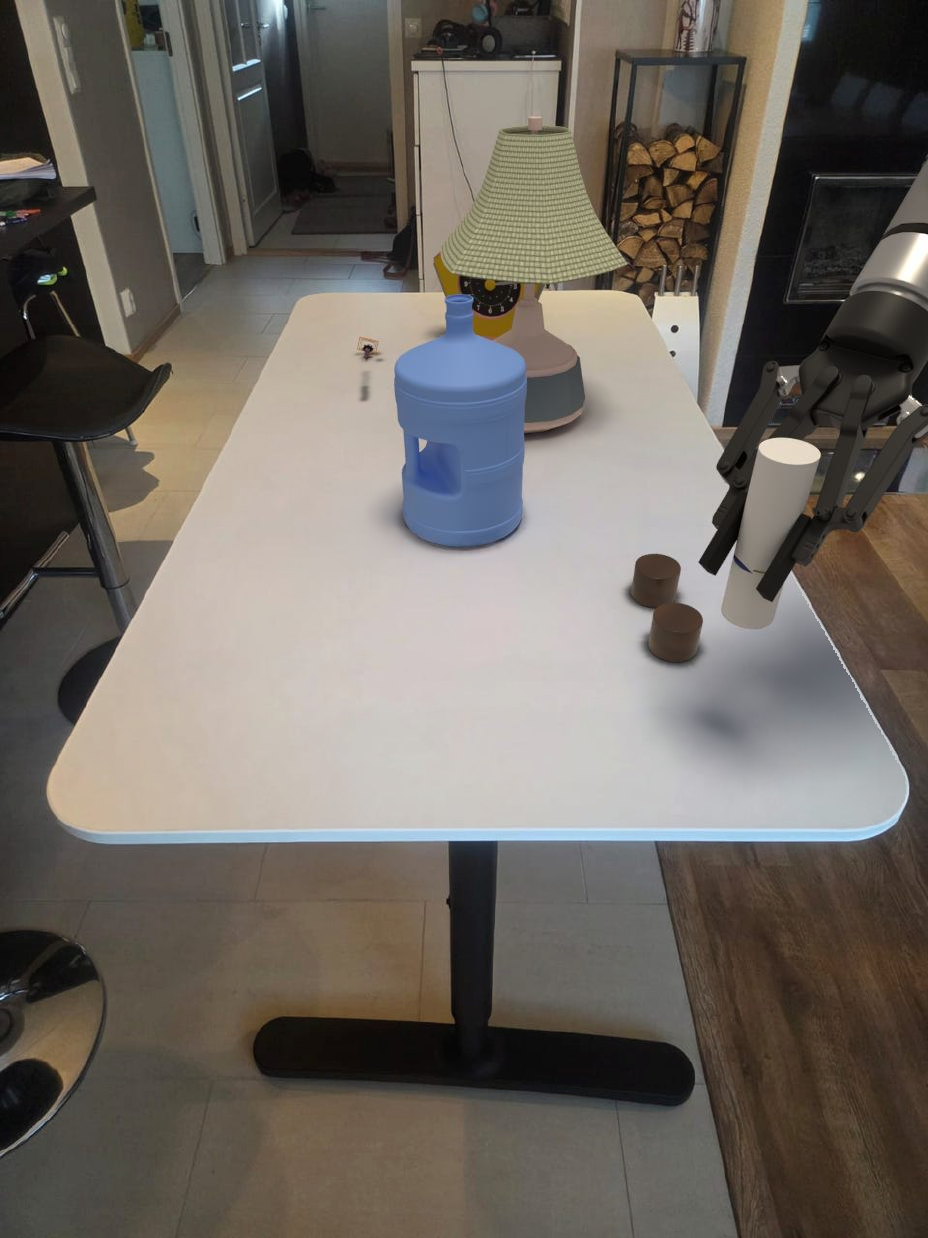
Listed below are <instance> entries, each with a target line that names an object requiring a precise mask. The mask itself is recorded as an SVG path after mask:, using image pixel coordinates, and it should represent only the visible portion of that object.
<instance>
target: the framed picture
mask: <svg viewBox="0 0 928 1238" xmlns="http://www.w3.org/2000/svg"><path fill="white" fill-rule="evenodd" d="M364 341H365V342H369V344H365V343H364V345H363V344H362V343H363V342H364ZM370 343H372V344H370ZM378 345H379V340H375V339H372V338H367V337H363V336H359V338H358V344H357V347H356V349H357V351H361V352H364V354H363V356H364V357H365V358H369V356H370V354H374V355H376V354H377V352H378V351H377V350H378ZM362 346H363V347H362Z"/></svg>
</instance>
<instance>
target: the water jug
mask: <svg viewBox="0 0 928 1238" xmlns="http://www.w3.org/2000/svg"><path fill="white" fill-rule="evenodd" d="M444 303H445V308H446V310H445V313H444V319H445V332H444V334H443V335H441V336H438V337H436V338H434V339H431V340H429V341H426V342H424V343H421V344H419V345H417V346H415V347H412V348H411V349H408V350H407V351H405V352H404V353H402V354H401V355H400V356H399V357H398V358H397V360H396V361H395V364H394V371H393V372H394V379H393V389H394V398H395V403H396V413H397V422H398V424H399V427H400V428H401V429H402V431H403V445H404V459H405V460H404V462H405V463H404V464H403V466H402V469H401V485H402V497H403V498H402V513H403V514H402V515H403V519H404V522H405V525H406V526H407V527H408V529H409V530H410V531H411V532H412V533H414V534H415V535H416V536H418V537H419V538H421V539H423V540H425V541H427V542H430V543H433V544H435V545H441V546H446V547H452V548H453V547H457V548H466V547H467V548H469V547H470V548H471V547H477V546H483V545H487V544H491V543H494V542H497V541H499V540H501V539H503V538H505V537H507V536H509V535H510V534H511V533H512V532H513V531H515V529H516V528H517V527H518V526H519V524H520V522H521V520H522V518H523V511H524V508H523V506H524V499H523V478H524V477H523V476H524V475H523V473H524V463H525V454H526V453H525V451H526V450H525V448H526V446H525V444H526V443H525V433H524V418H525V400H526V394H527V376H526V363H525V360H524V359H523V357H522V356H521V355H520V354H519V353H518V352H516V351H515V350H513V349H511V348H509V347H507V346H504V345H502V344H499V343H496V342H494V341H491V340H489V339H486V338H483V337H481V336H478V335H476V334H475V333H474V331H473V318H474V314H473V312H472V303H473V297H472V296H469V295H464V294H456V295H450V296H447V297H444ZM420 440H423V441H426V443H425V446H424V448H423V449H421V450H420Z"/></svg>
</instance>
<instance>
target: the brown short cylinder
mask: <svg viewBox="0 0 928 1238" xmlns="http://www.w3.org/2000/svg"><path fill="white" fill-rule="evenodd" d="M681 571H682V566H681V564H680V563H679V561H678V560H677V559H675V558H673V557H671V556H670V555H666V554H662V553H647V554H644V555H641V556H639V557H638V558H637V559H636V560H635V563H634V569H633V577H632V583H631V591H630V594H631V598H632V599H633V600H634V601H635V602H636V603H638V604H639V605H641V606H644V607H647V608H653V609H656V608H657V607H658V606H660V605H662V604H666V603H675V601H676V599H677V595H678V594H677V593H678V587H679V582H680V578H681V577H680V576H681Z"/></svg>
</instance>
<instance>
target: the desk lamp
mask: <svg viewBox="0 0 928 1238" xmlns="http://www.w3.org/2000/svg"><path fill="white" fill-rule="evenodd" d="M578 159H579V158H578V155H577V151H576V146H575V142H574V137H573V133H572V130H571V129H569V128H567V127H564V126H557V125H543V117H542V116H528V118H527V125H518V126H509V127H503V128H500V129H499V130H498V134H497V137H496V140H495V143H494V146H493V151H492V154H491V156H490V160H489V163H488V167H487V171H486V173H485V176H484V178H483V181H482V184H481V187H480V190H479V192H478V194H477V195H476V198H475V199H474V201H473V203H472V205H471V207H470V209H469V210H468V211H467V213H466V214H465V215H464V217H463V219H462V220H461V221H460V223H459V224H458V225H457V226H456V228H455V229H454V230H453V232H452V233H451V234H450V235H449V237H448V238H446V240H445V241H444V242H443V244H442V245H441V246H440V251H441V258H442V261H443V263H444V265H445V267H446V268H447V269H448V270H449V271H450V272H451V273H452V274H454V275H459V276H465V277H471V278H477V279H485V280H493V281H502V282H512V283H523V284H524V297H523V298H521V302H518V303H517V304H516V307H515V313H514V319H513V324H512V329H511V330H509V331H508V332H506V333H504V334H503V335H501V336H499V337H498V338H496V339H494V340H493V341H494V342H496V343H499V344H502V345H504V346H507V347H509V348H511V349H513V350H515V351H516V352H518V353H519V354H520V355H521V356H522V357H523V359H524V360H525V363H526V376H527V394H526V400H525V418H524V434H533V433H543V432H546V431H550V430H553V429H556V428H559V427H562V426H565V425H567V424H569V423H571V422H573V421H574V420H576V419H577V418H578V417H579V416H581V415H582V413H583V410H584V405H585V400H586V393H585V385H584V379H583V371H582V364H581V363H582V362H581V357H580V356H579V355H578V352H577V350H576V349H575V348H574V347H573V346H572V345H571V344H569V343H567V342H565V341H564V340H562V339H560V338H559V337H558V336H556V335H554V334H552V333H551V332H549V331H548V330H547V329H546V327H545V319H544V311H543V310H544V309H543V304H542V302H540V301H538V302H537V298H535V284H545V285H555V284H563V283H568V282H574V281H578V280H582V279H586V278H591V277H596V276H599V275H602V274H607V273H610V272H613V271H615V270H618V269H621V268H625V267H626V266H627V265H628V262H627V261H626V259H625V258H624V257H623V255H622V253H621V251H620V250H619V249H618V247H617V246H616V245H615V243H614V242H613V240H612V239H611V237H610V236H609V234H608V232H607V231H606V229H605V228H604V226H603V224H602V222H601V221H600V219H599V217H598V216H597V213H596V212H595V209H594V207H593V205H592V202H591V200H590V197H589V195H588V192H587V189H586V186H585V182H584V179H583V176H582V171H581V168H580V164H579V160H578Z"/></svg>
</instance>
